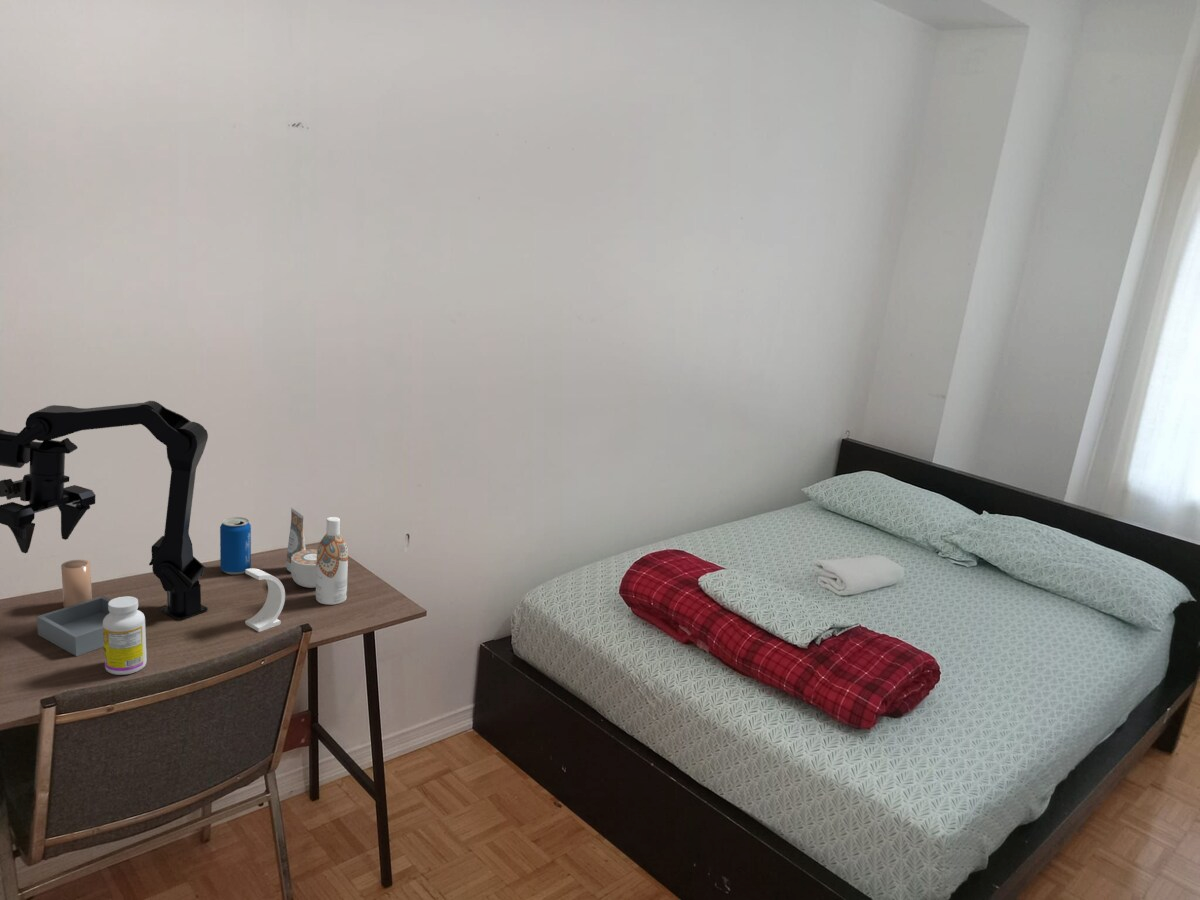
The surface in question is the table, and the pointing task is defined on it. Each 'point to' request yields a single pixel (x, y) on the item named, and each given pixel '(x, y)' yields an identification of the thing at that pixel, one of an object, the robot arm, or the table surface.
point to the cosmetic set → (319, 561)
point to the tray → (76, 626)
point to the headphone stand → (267, 602)
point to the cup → (76, 582)
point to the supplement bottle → (124, 637)
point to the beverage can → (235, 545)
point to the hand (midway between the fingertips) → (45, 545)
